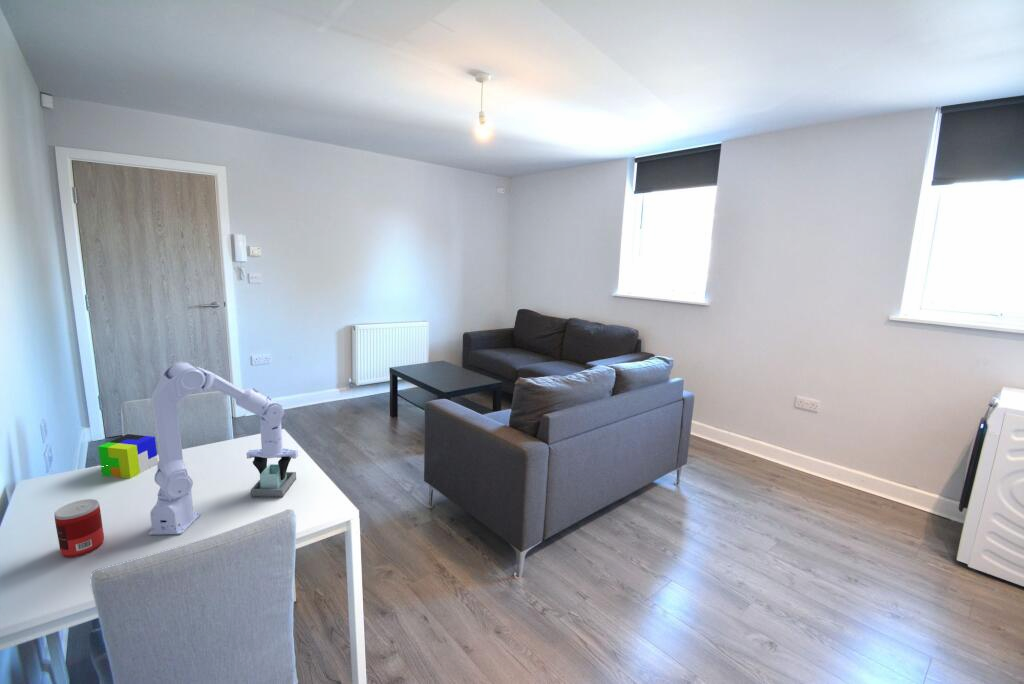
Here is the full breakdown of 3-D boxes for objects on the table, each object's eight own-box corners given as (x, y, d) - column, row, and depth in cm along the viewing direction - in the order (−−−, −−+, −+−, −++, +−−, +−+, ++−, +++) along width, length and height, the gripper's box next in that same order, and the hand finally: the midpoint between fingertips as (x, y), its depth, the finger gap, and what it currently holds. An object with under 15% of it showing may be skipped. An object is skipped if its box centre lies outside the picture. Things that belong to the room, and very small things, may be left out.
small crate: (286, 478, 145) (285, 463, 144) (277, 489, 138) (276, 474, 137) (270, 478, 144) (269, 463, 143) (260, 489, 138) (259, 474, 137)
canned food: (112, 537, 115) (107, 499, 113) (84, 559, 107) (78, 517, 105) (81, 537, 115) (75, 498, 112) (51, 558, 107) (44, 516, 104)
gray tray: (296, 478, 148) (295, 471, 147) (282, 497, 137) (282, 489, 136) (266, 478, 147) (266, 471, 146) (251, 497, 136) (250, 490, 135)
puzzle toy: (158, 464, 152) (154, 436, 150) (130, 478, 143) (126, 449, 141) (131, 461, 153) (127, 434, 151) (102, 475, 144) (98, 446, 142)
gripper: (300, 433, 143) (302, 472, 146) (252, 432, 141) (255, 472, 144) (292, 442, 136) (294, 483, 139) (242, 442, 135) (245, 483, 137)
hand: (274, 478), depth 141 cm, fingers closed on small crate, 5 cm apart
